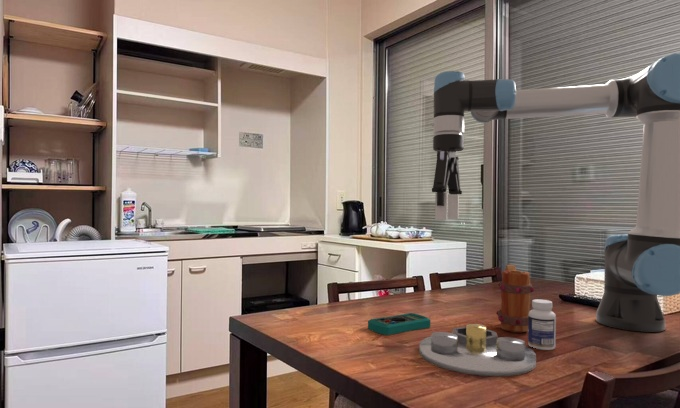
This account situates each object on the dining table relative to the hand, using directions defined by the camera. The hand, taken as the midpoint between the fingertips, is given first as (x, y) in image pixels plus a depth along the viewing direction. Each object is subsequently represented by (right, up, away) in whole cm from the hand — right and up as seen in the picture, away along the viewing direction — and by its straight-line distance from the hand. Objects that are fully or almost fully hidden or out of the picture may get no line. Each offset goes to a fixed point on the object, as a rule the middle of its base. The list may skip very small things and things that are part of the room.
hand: (447, 219), depth 117 cm
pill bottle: (+16, -27, -17) cm, 36 cm away
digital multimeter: (-13, -27, -4) cm, 30 cm away
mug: (+16, -27, -2) cm, 31 cm away
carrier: (0, -26, -25) cm, 36 cm away
